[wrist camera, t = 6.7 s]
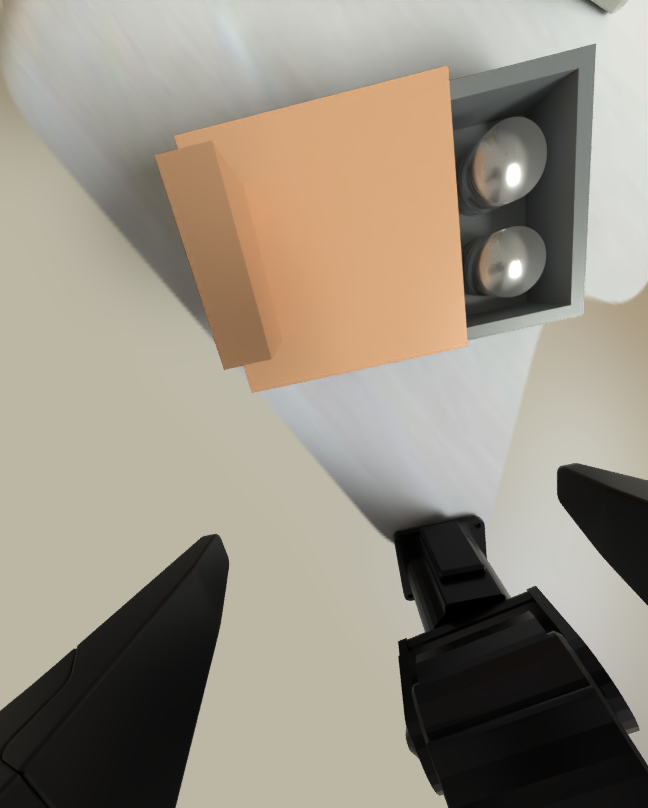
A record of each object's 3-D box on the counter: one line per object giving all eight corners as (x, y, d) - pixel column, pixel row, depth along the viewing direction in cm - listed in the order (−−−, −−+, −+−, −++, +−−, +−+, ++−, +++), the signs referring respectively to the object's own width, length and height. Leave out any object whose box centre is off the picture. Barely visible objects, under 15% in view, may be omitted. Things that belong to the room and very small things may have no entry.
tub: (531, 310, 19) (583, 315, 16) (363, 346, 20) (374, 360, 16) (529, 101, 16) (595, 43, 12) (328, 151, 16) (332, 110, 13)
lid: (458, 342, 16) (520, 365, 11) (255, 387, 16) (230, 427, 11) (437, 82, 12) (513, -44, 8) (184, 146, 13) (108, 64, 8)
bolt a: (510, 289, 18) (545, 289, 15) (456, 301, 18) (482, 303, 16) (508, 230, 17) (546, 218, 14) (451, 243, 17) (478, 234, 15)
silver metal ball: (508, 209, 17) (546, 193, 14) (450, 222, 17) (477, 209, 14) (506, 140, 16) (547, 108, 13) (444, 155, 16) (472, 126, 13)
